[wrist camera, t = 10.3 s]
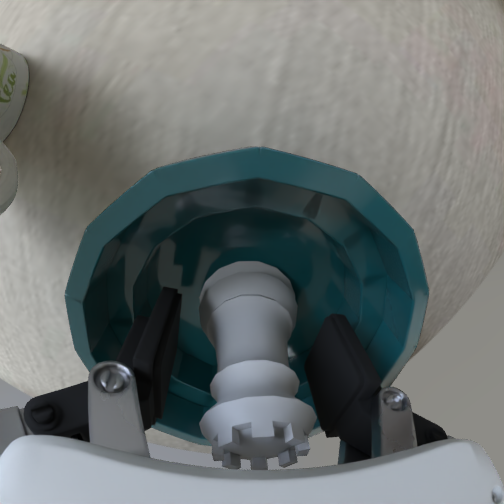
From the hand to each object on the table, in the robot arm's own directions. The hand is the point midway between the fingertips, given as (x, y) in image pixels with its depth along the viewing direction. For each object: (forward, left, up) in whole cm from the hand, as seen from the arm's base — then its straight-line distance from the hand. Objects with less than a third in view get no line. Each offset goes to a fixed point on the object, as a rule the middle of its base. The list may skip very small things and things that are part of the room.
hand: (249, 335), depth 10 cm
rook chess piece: (0, 0, -3) cm, 3 cm away
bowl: (0, 0, -3) cm, 3 cm away
